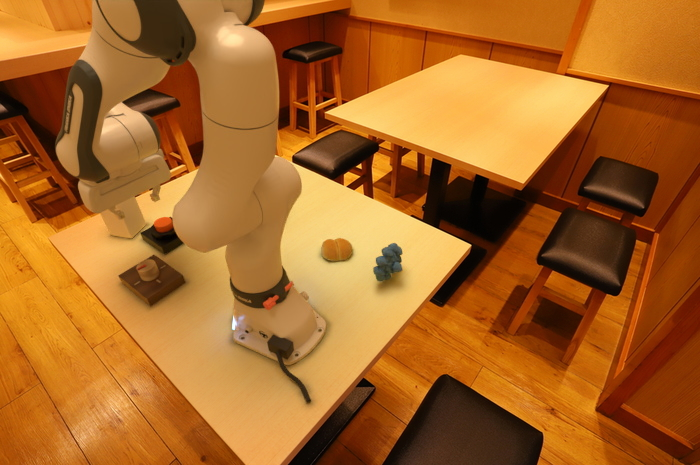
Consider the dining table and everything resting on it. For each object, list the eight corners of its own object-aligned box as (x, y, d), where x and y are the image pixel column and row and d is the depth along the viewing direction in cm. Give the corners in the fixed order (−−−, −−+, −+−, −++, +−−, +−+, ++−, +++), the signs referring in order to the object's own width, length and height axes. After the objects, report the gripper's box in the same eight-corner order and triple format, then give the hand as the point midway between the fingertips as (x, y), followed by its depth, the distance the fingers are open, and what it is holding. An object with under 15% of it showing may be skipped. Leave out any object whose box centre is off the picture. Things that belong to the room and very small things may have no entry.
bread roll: (354, 260, 106) (354, 250, 103) (323, 263, 105) (322, 253, 102) (349, 241, 112) (350, 231, 109) (320, 244, 111) (319, 234, 108)
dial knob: (153, 266, 98) (148, 256, 96) (163, 274, 96) (158, 263, 94) (137, 276, 96) (132, 265, 93) (147, 283, 94) (141, 273, 91)
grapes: (387, 299, 95) (391, 265, 87) (366, 286, 98) (368, 253, 91) (411, 273, 102) (417, 240, 94) (390, 262, 105) (394, 229, 98)
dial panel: (185, 282, 98) (182, 274, 96) (150, 306, 92) (146, 298, 90) (157, 262, 104) (153, 253, 102) (122, 283, 98) (117, 275, 96)
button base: (194, 236, 113) (190, 225, 110) (164, 254, 106) (159, 242, 103) (172, 223, 117) (168, 211, 115) (143, 239, 111) (137, 227, 108)
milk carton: (132, 239, 111) (106, 184, 99) (111, 235, 112) (83, 181, 100) (146, 224, 117) (124, 171, 105) (126, 221, 118) (102, 168, 106)
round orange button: (177, 226, 110) (175, 220, 108) (162, 234, 107) (160, 229, 105) (167, 220, 112) (165, 214, 110) (152, 228, 109) (150, 222, 107)
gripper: (152, 139, 93) (167, 186, 102) (65, 173, 80) (92, 223, 89) (167, 147, 91) (182, 194, 99) (80, 183, 77) (106, 234, 86)
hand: (139, 208), depth 94 cm, fingers open, 8 cm apart
